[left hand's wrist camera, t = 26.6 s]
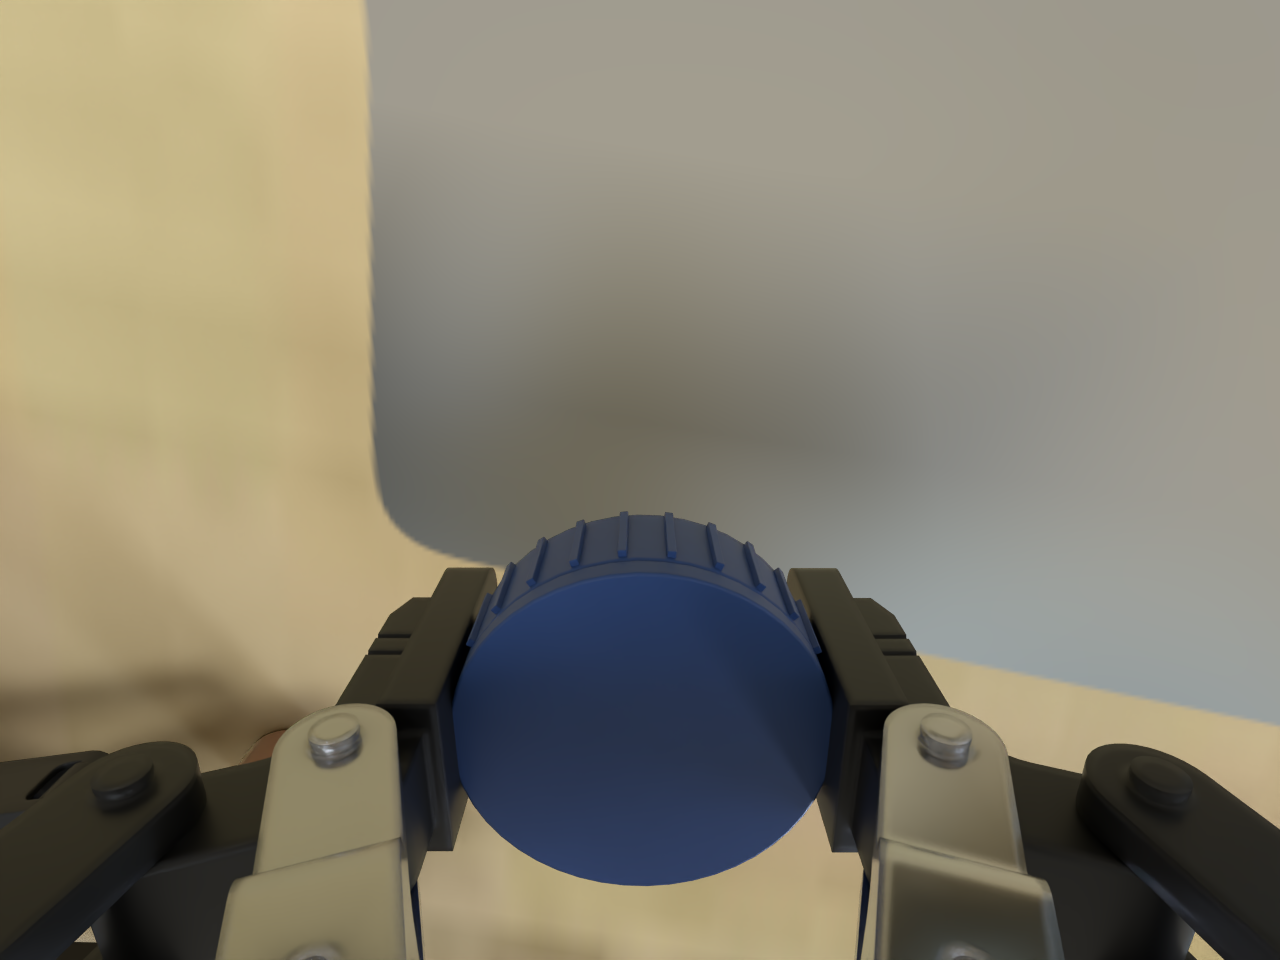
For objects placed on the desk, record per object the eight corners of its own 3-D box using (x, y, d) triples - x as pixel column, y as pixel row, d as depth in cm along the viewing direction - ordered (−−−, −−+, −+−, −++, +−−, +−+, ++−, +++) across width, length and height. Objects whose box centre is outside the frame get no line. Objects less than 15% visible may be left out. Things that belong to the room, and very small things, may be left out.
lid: (408, 695, 11) (369, 780, 10) (600, 437, 10) (591, 486, 8) (675, 843, 12) (680, 942, 11) (883, 631, 11) (926, 708, 9)
